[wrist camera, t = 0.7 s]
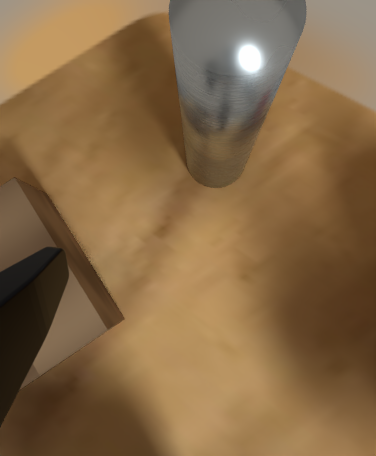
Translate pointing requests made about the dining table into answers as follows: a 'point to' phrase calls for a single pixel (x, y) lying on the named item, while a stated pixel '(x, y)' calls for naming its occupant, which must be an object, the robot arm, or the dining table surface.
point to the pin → (229, 76)
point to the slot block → (78, 274)
